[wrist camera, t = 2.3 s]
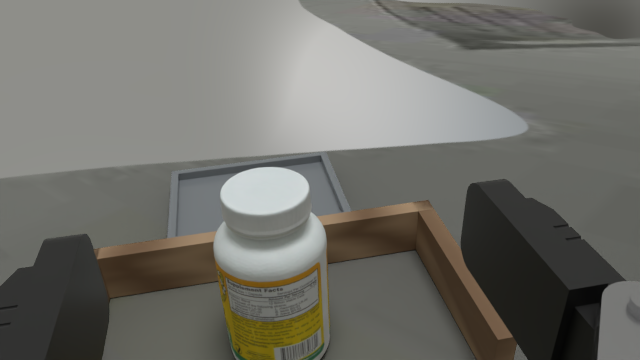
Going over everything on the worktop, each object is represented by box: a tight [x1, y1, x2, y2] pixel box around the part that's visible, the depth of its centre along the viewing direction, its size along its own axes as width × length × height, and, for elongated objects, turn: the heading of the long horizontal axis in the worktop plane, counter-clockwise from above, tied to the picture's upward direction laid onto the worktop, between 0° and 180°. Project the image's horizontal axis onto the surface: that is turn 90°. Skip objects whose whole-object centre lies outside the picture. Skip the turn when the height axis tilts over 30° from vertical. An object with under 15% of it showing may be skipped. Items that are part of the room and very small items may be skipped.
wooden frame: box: [94, 200, 517, 360], centre depth 29 cm, size 21×12×3 cm, turn 101°
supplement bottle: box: [213, 167, 330, 360], centre depth 27 cm, size 5×5×10 cm
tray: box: [167, 152, 351, 238], centre depth 39 cm, size 12×9×2 cm
